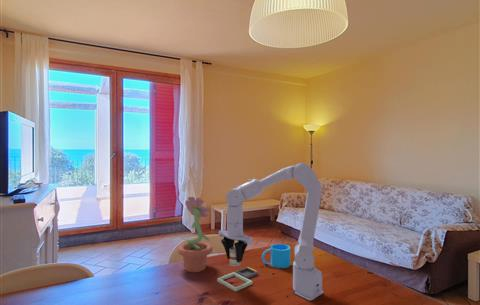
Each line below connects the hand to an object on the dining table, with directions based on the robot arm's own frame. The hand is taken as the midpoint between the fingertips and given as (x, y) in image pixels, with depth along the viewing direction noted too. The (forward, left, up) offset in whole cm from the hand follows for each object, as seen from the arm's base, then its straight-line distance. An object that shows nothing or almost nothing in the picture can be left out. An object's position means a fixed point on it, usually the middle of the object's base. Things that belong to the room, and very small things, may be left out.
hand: (234, 260), depth 100 cm
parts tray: (0, 0, -9) cm, 9 cm away
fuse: (0, 0, -2) cm, 2 cm away
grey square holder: (+2, -8, -9) cm, 12 cm away
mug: (+1, -24, -9) cm, 26 cm away
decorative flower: (+20, +3, -9) cm, 22 cm away
